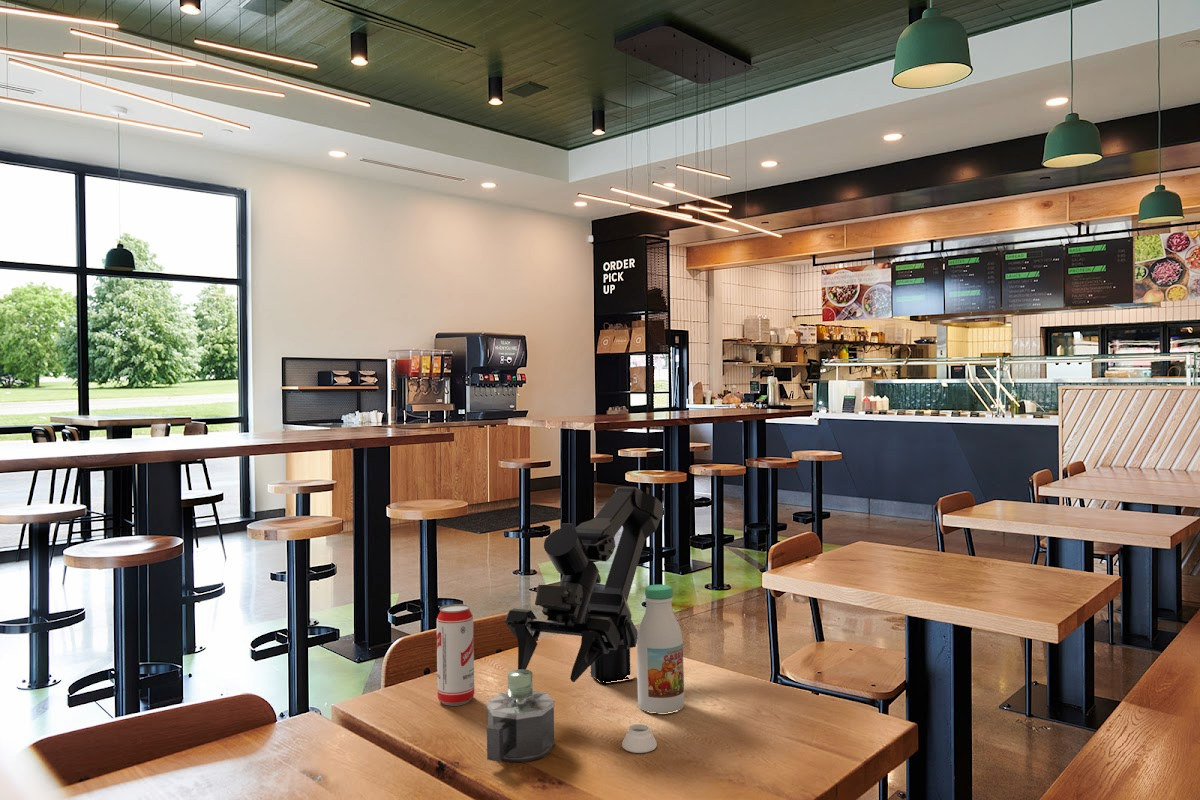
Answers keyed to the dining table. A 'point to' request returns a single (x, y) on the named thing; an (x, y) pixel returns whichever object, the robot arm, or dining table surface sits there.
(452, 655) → the beer can
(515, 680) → the plunger
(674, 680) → the milk bottle
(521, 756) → the grey octagonal canister
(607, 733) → the dining table surface
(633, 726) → the white jar
